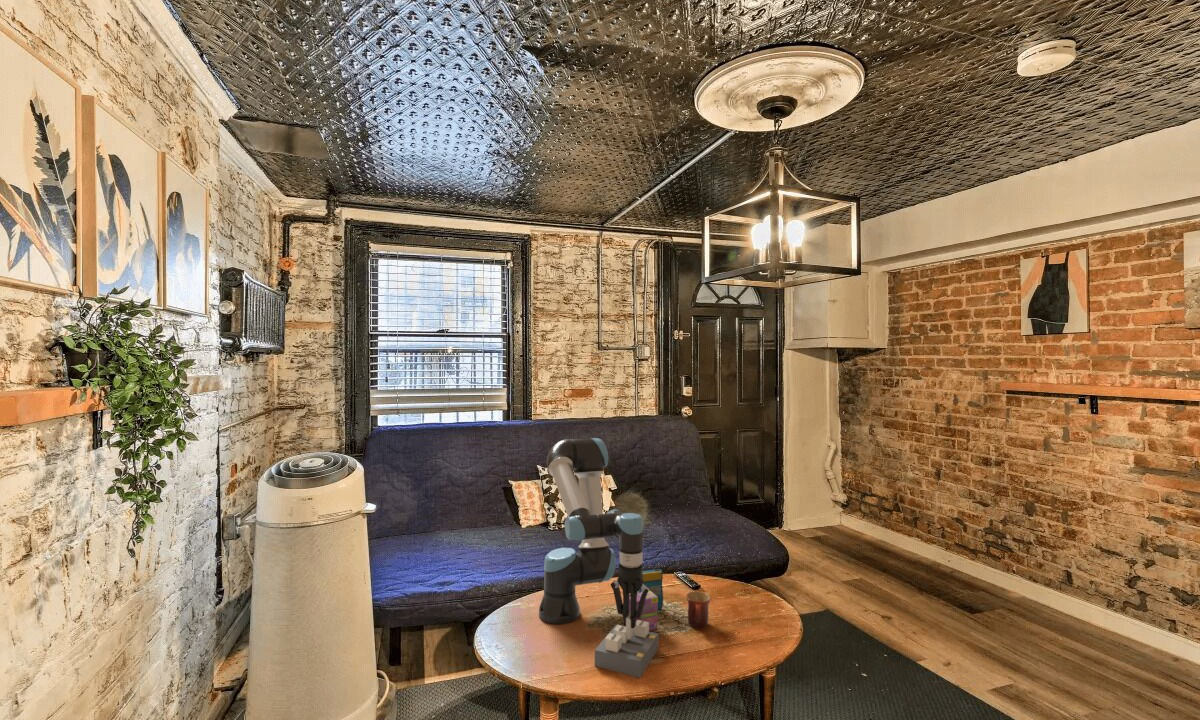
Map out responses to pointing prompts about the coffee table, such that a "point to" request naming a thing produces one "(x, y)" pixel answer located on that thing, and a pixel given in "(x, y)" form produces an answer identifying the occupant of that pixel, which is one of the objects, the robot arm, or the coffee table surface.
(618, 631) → the slider
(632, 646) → the switch unit
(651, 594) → the box
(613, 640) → the slider
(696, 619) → the mug
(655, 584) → the teal carton
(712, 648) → the coffee table surface
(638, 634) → the slider
